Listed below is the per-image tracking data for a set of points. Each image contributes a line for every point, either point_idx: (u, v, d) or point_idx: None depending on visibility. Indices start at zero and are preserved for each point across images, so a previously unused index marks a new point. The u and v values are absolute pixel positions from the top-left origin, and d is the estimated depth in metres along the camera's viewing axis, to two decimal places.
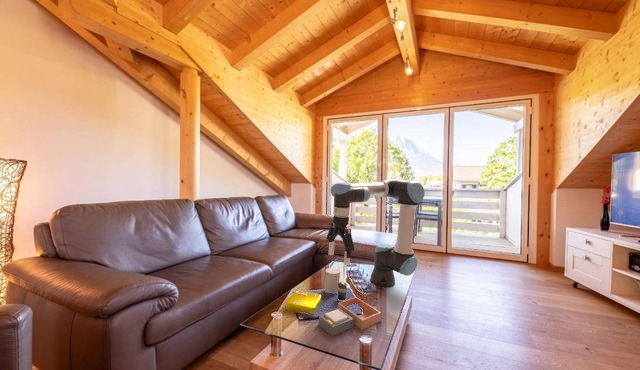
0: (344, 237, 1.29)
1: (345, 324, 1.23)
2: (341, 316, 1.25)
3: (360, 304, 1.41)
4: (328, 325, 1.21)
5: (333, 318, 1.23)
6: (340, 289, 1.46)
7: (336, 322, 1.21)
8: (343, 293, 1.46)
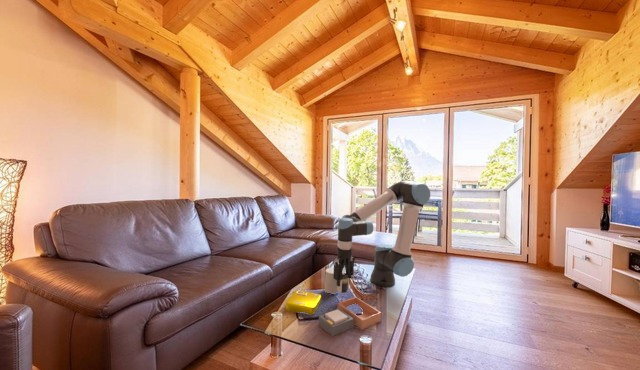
0: (339, 267, 1.46)
1: (345, 324, 1.23)
2: (341, 316, 1.25)
3: (360, 304, 1.41)
4: (328, 325, 1.21)
5: (333, 318, 1.23)
6: (341, 279, 1.46)
7: (336, 322, 1.21)
8: (344, 283, 1.46)
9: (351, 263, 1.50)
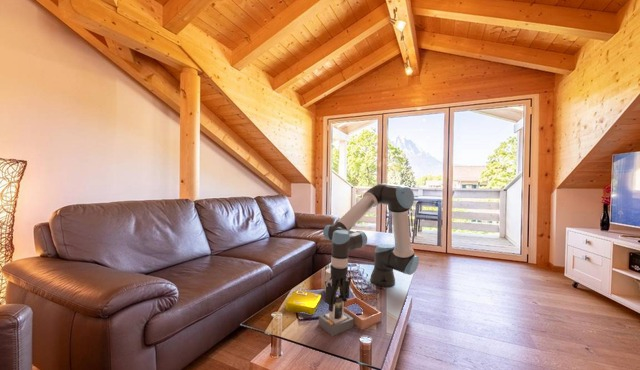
0: (332, 289, 1.23)
1: (345, 324, 1.23)
2: (341, 317, 1.25)
3: (360, 304, 1.41)
4: (328, 325, 1.21)
5: (333, 319, 1.23)
6: (334, 303, 1.23)
7: (336, 323, 1.21)
8: (338, 307, 1.23)
9: (347, 284, 1.27)
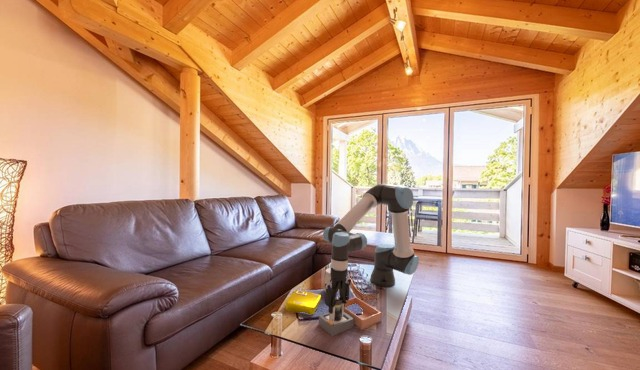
0: (332, 291, 1.23)
1: (345, 324, 1.23)
2: (341, 319, 1.25)
3: (360, 304, 1.41)
4: (328, 325, 1.21)
5: (333, 321, 1.23)
6: (334, 305, 1.23)
7: None
8: (338, 310, 1.23)
9: (346, 286, 1.27)
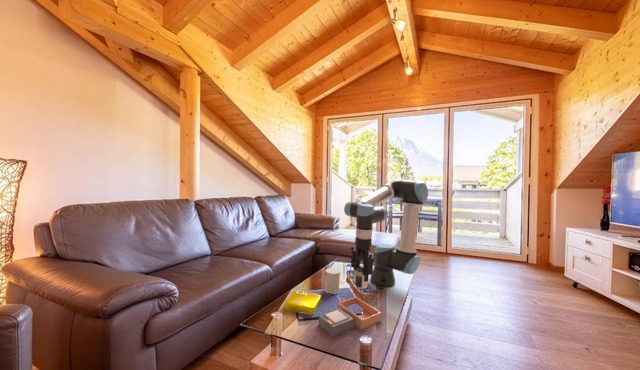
0: (365, 260, 1.29)
1: (345, 324, 1.23)
2: (341, 317, 1.25)
3: (360, 304, 1.41)
4: (328, 325, 1.21)
5: (333, 319, 1.23)
6: None
7: (336, 323, 1.21)
8: None
9: (355, 253, 1.36)
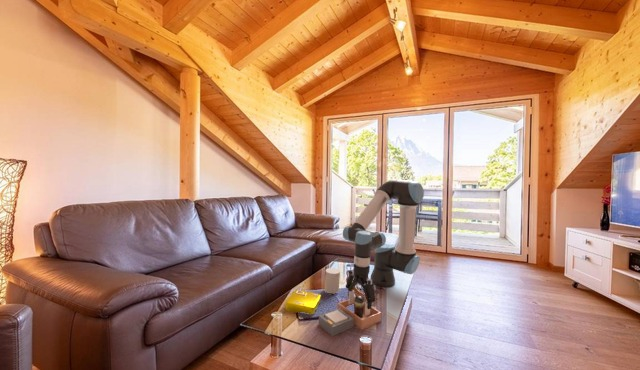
0: (365, 287, 1.29)
1: (345, 324, 1.23)
2: (341, 317, 1.25)
3: None
4: (328, 325, 1.21)
5: (333, 319, 1.23)
6: (363, 303, 1.32)
7: (336, 323, 1.21)
8: None
9: (352, 277, 1.38)
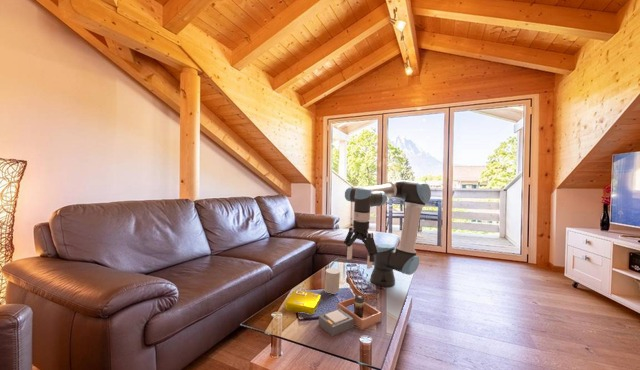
0: (366, 241, 1.31)
1: (345, 324, 1.23)
2: (341, 317, 1.25)
3: None
4: (328, 325, 1.21)
5: (333, 319, 1.23)
6: (363, 303, 1.33)
7: (336, 323, 1.21)
8: None
9: (352, 233, 1.40)
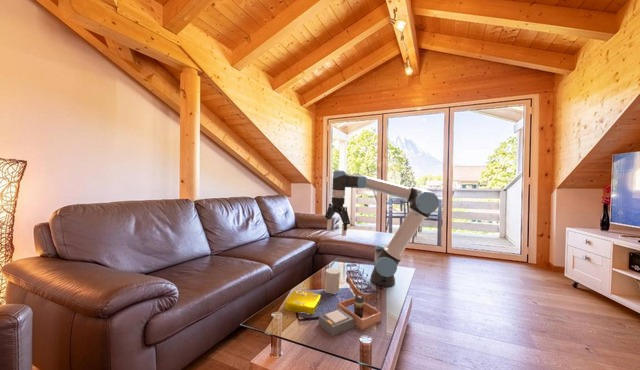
0: (341, 214, 1.59)
1: (345, 324, 1.23)
2: (341, 317, 1.25)
3: None
4: (328, 325, 1.21)
5: (333, 319, 1.23)
6: (363, 303, 1.33)
7: (336, 323, 1.21)
8: None
9: (331, 208, 1.68)
